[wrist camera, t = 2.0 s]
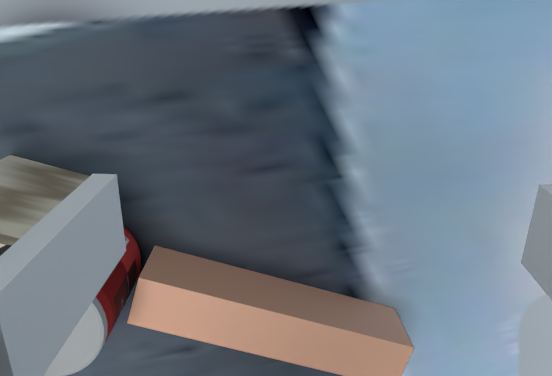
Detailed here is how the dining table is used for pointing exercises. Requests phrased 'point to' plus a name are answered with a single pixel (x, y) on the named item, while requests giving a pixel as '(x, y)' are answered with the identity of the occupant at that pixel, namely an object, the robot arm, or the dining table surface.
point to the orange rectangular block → (268, 316)
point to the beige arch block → (30, 194)
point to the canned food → (99, 315)
